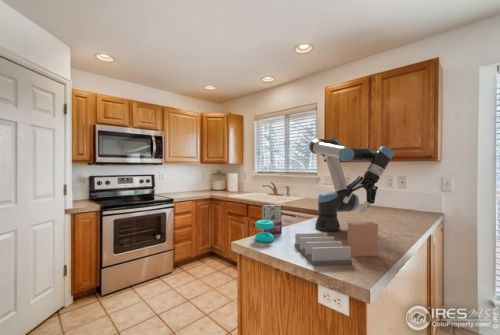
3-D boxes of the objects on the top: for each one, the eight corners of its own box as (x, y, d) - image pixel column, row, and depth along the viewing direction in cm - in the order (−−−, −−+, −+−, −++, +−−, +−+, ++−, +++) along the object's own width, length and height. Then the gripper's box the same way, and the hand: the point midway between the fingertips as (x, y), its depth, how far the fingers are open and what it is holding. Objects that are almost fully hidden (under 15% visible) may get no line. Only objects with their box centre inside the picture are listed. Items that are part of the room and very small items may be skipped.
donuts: (266, 224, 119) (251, 221, 125) (266, 244, 119) (251, 240, 125) (277, 221, 127) (262, 218, 133) (277, 239, 127) (262, 236, 133)
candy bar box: (278, 231, 145) (278, 204, 145) (281, 233, 140) (282, 205, 140) (261, 232, 142) (261, 204, 142) (263, 234, 137) (264, 206, 137)
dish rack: (294, 246, 117) (294, 232, 117) (325, 245, 119) (325, 232, 119) (313, 265, 93) (314, 249, 93) (351, 264, 95) (352, 248, 95)
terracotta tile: (347, 253, 108) (347, 222, 108) (371, 252, 109) (372, 222, 109) (352, 256, 104) (352, 224, 104) (377, 255, 105) (377, 224, 105)
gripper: (363, 164, 120) (342, 200, 121) (393, 185, 129) (373, 218, 130) (353, 161, 127) (333, 196, 128) (382, 181, 136) (363, 213, 137)
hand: (353, 207), depth 129 cm, fingers open, 13 cm apart
